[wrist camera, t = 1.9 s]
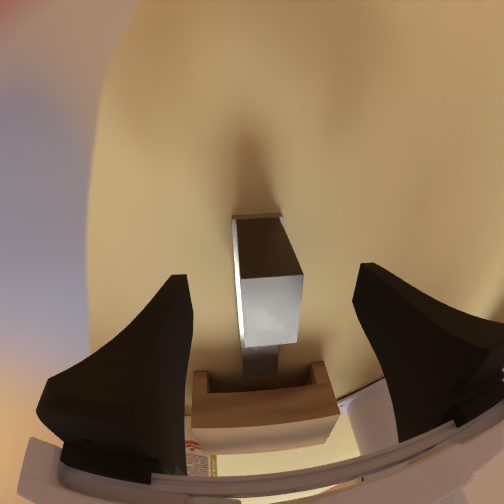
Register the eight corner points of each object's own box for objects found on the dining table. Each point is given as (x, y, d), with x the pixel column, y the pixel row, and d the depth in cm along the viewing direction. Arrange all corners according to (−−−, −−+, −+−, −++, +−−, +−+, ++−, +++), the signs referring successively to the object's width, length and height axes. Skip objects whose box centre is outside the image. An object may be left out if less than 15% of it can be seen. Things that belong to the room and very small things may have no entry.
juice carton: (138, 411, 27) (124, 552, 11) (206, 411, 28) (211, 565, 11) (160, 435, 31) (154, 554, 15) (219, 435, 31) (226, 560, 15)
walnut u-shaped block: (194, 371, 24) (190, 428, 18) (323, 361, 24) (340, 414, 19) (206, 412, 28) (206, 458, 22) (311, 403, 28) (322, 447, 23)
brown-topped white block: (231, 214, 17) (234, 279, 11) (280, 212, 17) (309, 274, 11) (243, 370, 24) (248, 434, 18) (275, 367, 24) (286, 431, 18)
